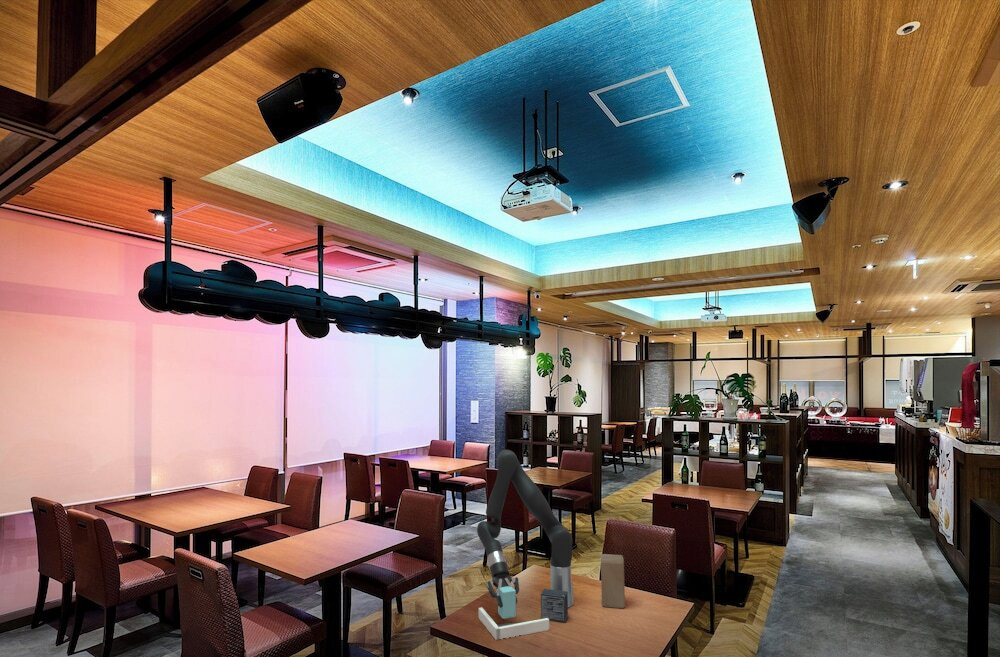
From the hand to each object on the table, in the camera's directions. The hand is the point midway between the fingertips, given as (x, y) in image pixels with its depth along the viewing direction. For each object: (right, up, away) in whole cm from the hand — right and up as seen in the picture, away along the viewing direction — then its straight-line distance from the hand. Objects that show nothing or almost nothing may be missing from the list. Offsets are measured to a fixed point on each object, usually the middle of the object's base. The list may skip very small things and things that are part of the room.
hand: (508, 605), depth 213 cm
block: (+47, -12, +24) cm, 54 cm away
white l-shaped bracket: (+2, -10, +4) cm, 11 cm away
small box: (+20, -11, +10) cm, 24 cm away
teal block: (-1, -4, +1) cm, 5 cm away
